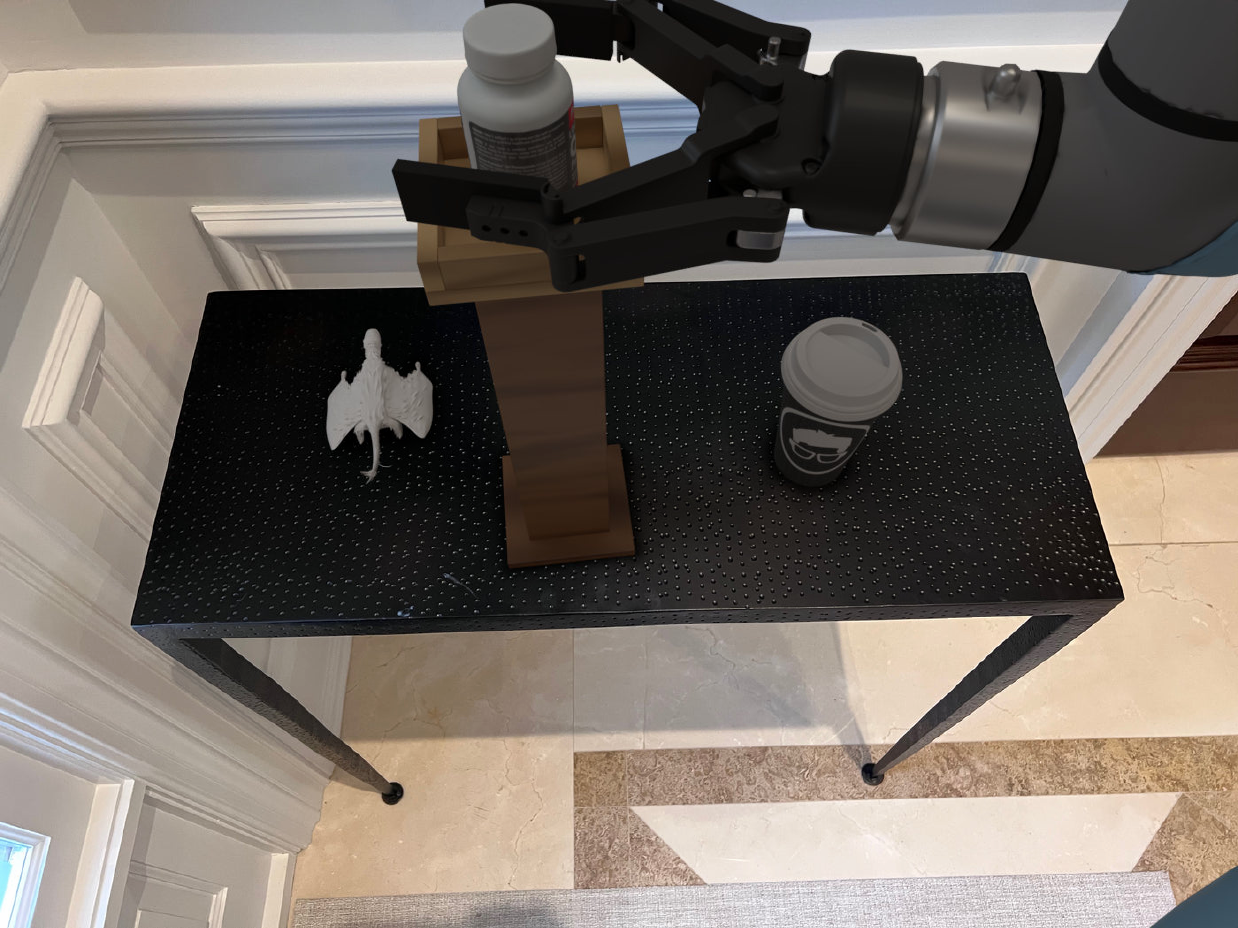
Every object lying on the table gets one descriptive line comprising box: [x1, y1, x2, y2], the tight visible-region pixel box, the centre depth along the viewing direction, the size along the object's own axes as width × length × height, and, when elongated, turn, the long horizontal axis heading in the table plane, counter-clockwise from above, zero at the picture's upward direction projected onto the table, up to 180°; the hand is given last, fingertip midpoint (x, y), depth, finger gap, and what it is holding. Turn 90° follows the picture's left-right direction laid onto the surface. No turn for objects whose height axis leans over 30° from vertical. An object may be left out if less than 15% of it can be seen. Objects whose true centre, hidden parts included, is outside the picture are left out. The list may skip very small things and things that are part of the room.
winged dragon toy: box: [326, 328, 434, 485], centre depth 75 cm, size 18×10×4 cm, turn 9°
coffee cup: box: [773, 316, 903, 488], centre depth 68 cm, size 10×10×15 cm
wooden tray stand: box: [416, 103, 645, 569], centre depth 56 cm, size 11×11×36 cm
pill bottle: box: [456, 4, 578, 193], centre depth 38 cm, size 5×5×10 cm
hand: (448, 96), depth 37 cm, fingers open, 13 cm apart
